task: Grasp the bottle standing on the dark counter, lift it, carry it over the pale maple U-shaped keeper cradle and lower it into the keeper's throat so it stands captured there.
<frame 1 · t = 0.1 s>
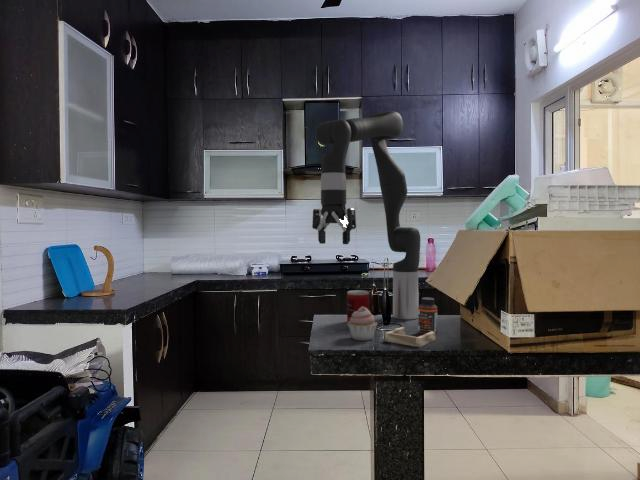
hand: (333, 243, 149), 29 cm above the countertop, fingers open, 8 cm apart
supplement bottle: (427, 334, 160), on the countertop
canned food: (358, 323, 177), on the countertop
cupcake: (362, 339, 154), on the countertop
keeper: (411, 340, 151), on the countertop
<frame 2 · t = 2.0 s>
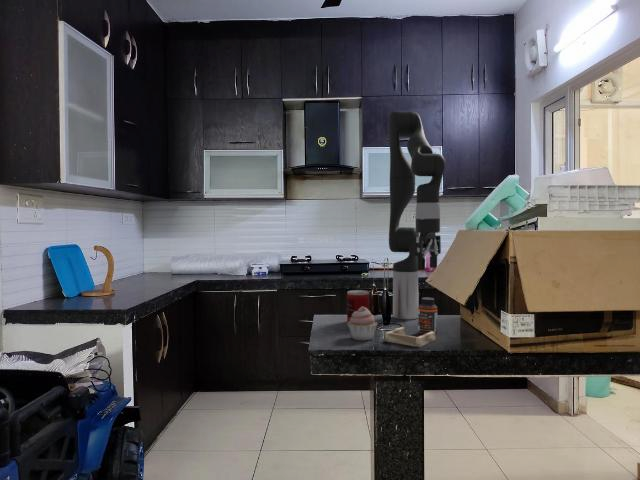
hand: (427, 268, 159), 21 cm above the countertop, fingers open, 8 cm apart
nothing on the countertop moved.
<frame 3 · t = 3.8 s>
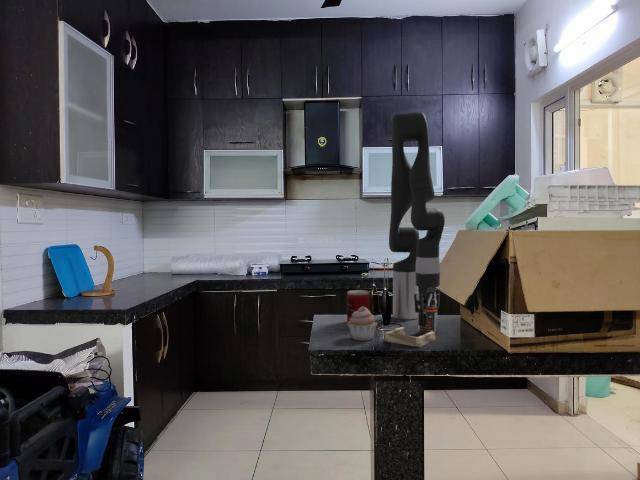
hand: (427, 323, 160), 3 cm above the countertop, fingers closed on supplement bottle, 6 cm apart
supplement bottle: (427, 334, 160), on the countertop, touching gripper
everything else where it was.
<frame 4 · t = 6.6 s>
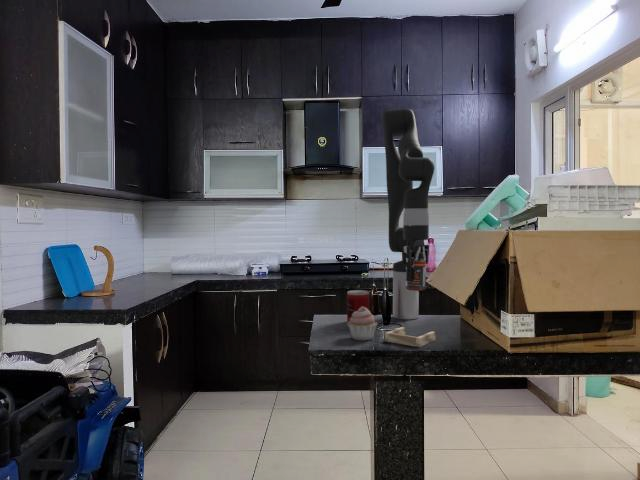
hand: (415, 279, 152), 18 cm above the countertop, fingers closed on supplement bottle, 6 cm apart
supplement bottle: (415, 290, 152), point 15 cm above the countertop, touching gripper
everything else where it was.
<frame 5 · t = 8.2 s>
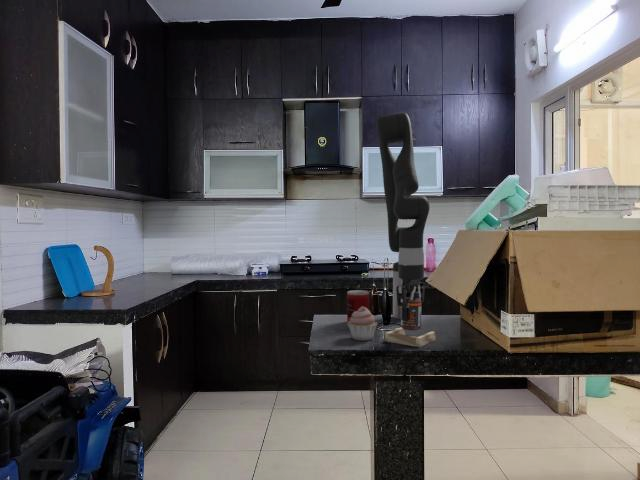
hand: (410, 318, 151), 7 cm above the countertop, fingers closed on supplement bottle, 6 cm apart
supplement bottle: (411, 329, 151), point 3 cm above the countertop, touching gripper
everything else where it was.
when the fingers open (4 cm above the countertop, at t = 9.2 s): supplement bottle stays where it is, on the countertop.
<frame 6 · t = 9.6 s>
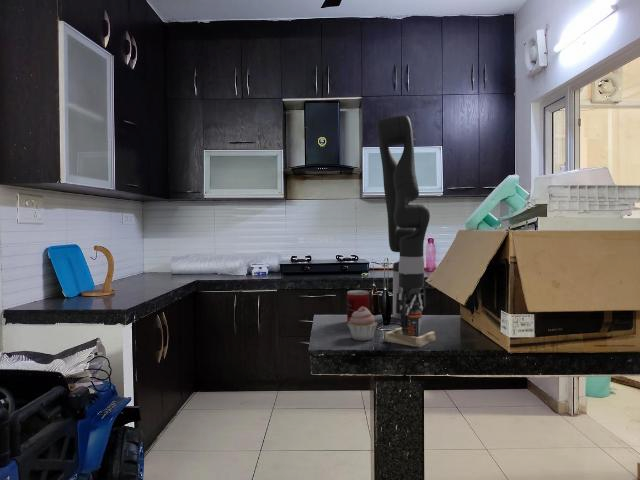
hand: (411, 325, 151), 5 cm above the countertop, fingers open, 8 cm apart
supplement bottle: (411, 340, 151), on the countertop
everything else where it was.
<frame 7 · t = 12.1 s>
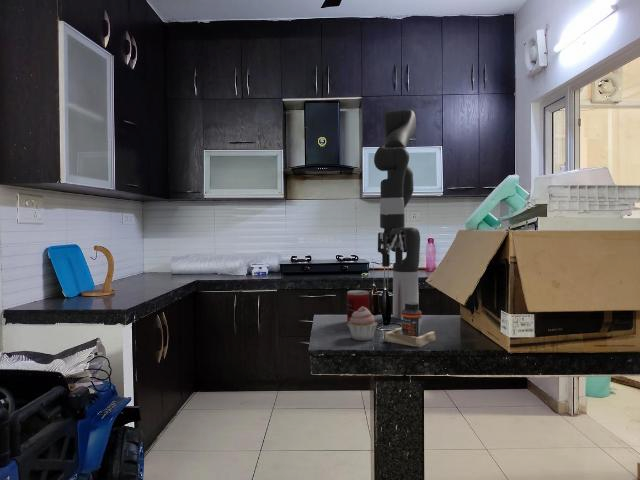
hand: (392, 265, 156), 22 cm above the countertop, fingers open, 8 cm apart
nothing on the countertop moved.
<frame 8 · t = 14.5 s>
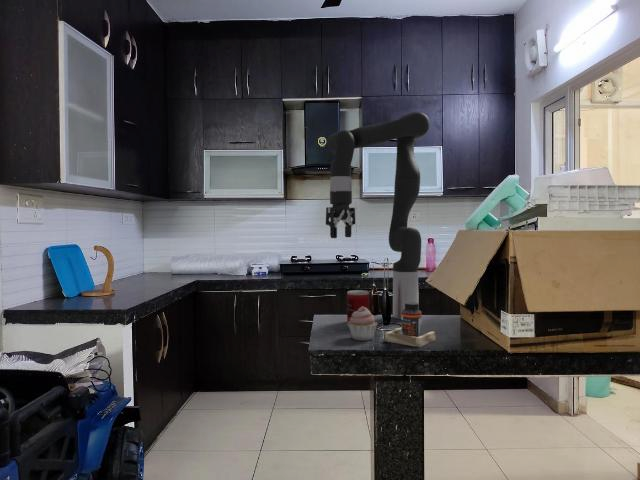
hand: (341, 237, 173), 30 cm above the countertop, fingers open, 8 cm apart
nothing on the countertop moved.
at the end: supplement bottle 0.1 cm off-centre on the keeper, point 0.0 cm above the keeper's base; supplement bottle tilted 0°; the gripper is holding nothing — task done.
